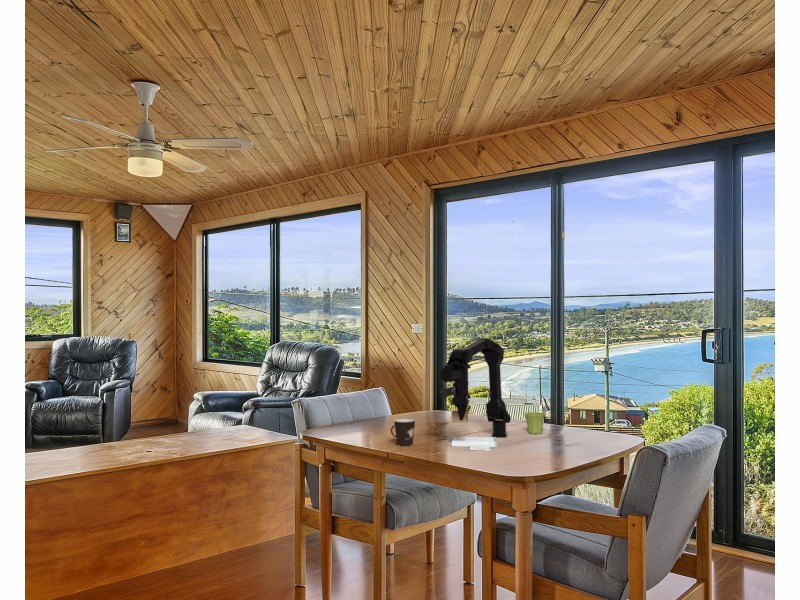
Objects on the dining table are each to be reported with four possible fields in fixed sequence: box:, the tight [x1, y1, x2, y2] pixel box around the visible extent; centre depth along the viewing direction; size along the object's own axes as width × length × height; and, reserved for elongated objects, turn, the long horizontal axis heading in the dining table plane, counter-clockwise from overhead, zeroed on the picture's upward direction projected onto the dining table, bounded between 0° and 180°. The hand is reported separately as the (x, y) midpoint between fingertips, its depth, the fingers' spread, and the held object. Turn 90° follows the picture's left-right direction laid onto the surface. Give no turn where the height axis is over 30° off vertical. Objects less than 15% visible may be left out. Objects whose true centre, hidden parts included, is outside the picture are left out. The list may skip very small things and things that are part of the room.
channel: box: [451, 436, 498, 448], centre depth 253 cm, size 10×18×2 cm, turn 82°
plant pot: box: [523, 411, 546, 435], centre depth 277 cm, size 9×9×9 cm
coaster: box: [469, 445, 492, 452], centre depth 243 cm, size 8×8×1 cm
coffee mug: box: [390, 418, 416, 447], centre depth 252 cm, size 12×9×10 cm
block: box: [451, 410, 469, 424], centre depth 249 cm, size 5×6×4 cm
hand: (461, 419), depth 249 cm, fingers closed on block, 5 cm apart
